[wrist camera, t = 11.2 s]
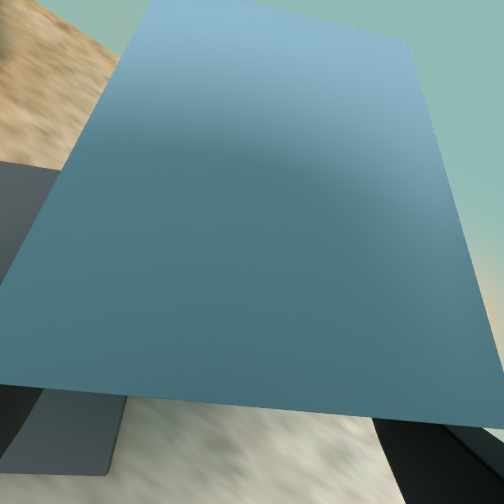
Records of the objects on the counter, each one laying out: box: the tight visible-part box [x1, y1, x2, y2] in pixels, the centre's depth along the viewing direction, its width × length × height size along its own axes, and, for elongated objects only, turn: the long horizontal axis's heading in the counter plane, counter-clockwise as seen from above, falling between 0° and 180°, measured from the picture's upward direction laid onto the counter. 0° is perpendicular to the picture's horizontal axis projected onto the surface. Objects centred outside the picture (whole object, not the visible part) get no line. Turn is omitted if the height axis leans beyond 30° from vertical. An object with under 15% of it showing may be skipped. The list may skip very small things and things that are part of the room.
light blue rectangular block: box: [0, 0, 504, 429], centre depth 11 cm, size 10×7×12 cm
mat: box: [0, 161, 127, 476], centre depth 14 cm, size 16×13×1 cm
